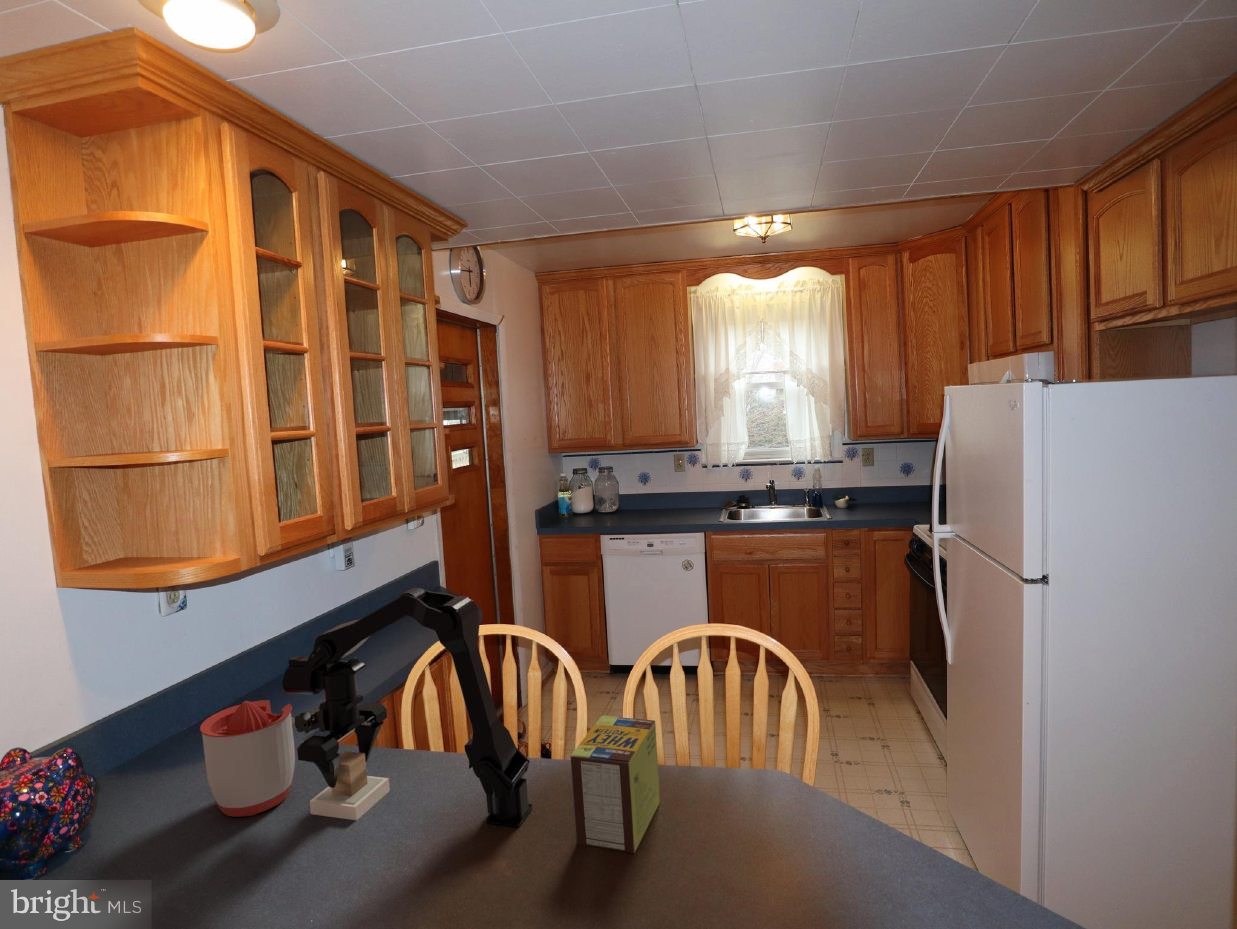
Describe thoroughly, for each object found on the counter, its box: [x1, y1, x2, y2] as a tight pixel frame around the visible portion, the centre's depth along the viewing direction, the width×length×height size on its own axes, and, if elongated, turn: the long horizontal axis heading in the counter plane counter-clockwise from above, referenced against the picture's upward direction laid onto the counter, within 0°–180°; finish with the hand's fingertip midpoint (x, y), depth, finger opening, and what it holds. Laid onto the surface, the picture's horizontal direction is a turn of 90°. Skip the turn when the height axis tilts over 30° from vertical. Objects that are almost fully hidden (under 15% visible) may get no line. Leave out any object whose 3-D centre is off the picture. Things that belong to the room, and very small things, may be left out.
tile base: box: [309, 775, 391, 821], centre depth 134 cm, size 10×10×3 cm
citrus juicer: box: [199, 699, 296, 818], centre depth 136 cm, size 16×17×20 cm
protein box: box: [570, 715, 661, 854], centre depth 122 cm, size 10×15×16 cm
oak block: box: [331, 750, 368, 796], centre depth 134 cm, size 4×4×6 cm
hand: (348, 774), depth 134 cm, fingers open, 9 cm apart
